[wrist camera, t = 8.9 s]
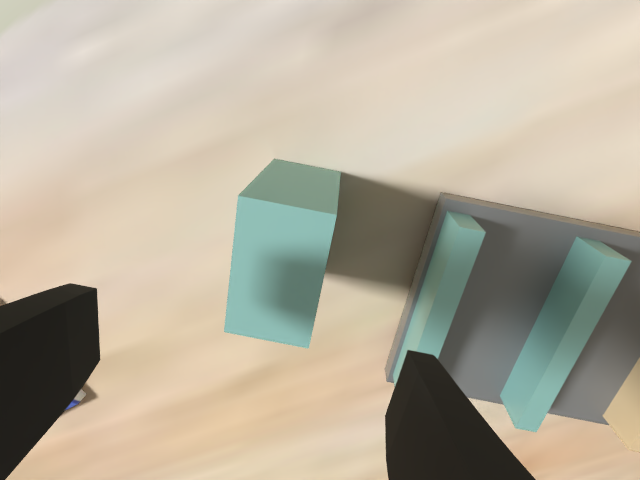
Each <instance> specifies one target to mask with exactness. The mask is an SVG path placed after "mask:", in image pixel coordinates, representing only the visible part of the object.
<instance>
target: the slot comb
mask: <svg viewBox="0 0 640 480" xmlns="http://www.w3.org/2000/svg"><path fill="white" fill-rule="evenodd" d="M407 350H412V351H417V352H422V353H427V354H432V355H434V356H435V357H436V358H437V359H438V360H439V362H440V363H441V364H442V365H443V367H444V368H445V369H446V371H447V372H448V373H449V375H450V376H451V377H452V378H453V380H454V381H455V382H456V384H457V385H458V386H459V388H460V389H461V390H462V391H463V393H464V394H465V395H466V397H468V398H473V399H478V400H483V401H488V402H493V403H498V404H504V406H505V408H506V410H507V412H508V414H509V416H510V418H511V420H512V422H513V424H514V426H515V428H517V429H522V430H528V431H533V432H537V430H538V428H539V427H540V425H541V423H542V421H543V420H544V418H545V416H546V414H547V413H549V414H555V415H560V416H565V417H570V418H575V419H580V420H585V421H590V422H595V423H600V424H605V425H610V426H611V428H612V429H613V430H614V432H615V433H616V434H617V436H618V437H619V438H620V440H621V441H622V442H623V444H624V445H625V446H626V447H627V449H628V450H630V451H635V452H640V232H638V231H633V230H628V229H623V228H618V227H613V226H608V225H603V224H598V223H593V222H588V221H583V220H578V219H573V218H568V217H563V216H558V215H553V214H548V213H543V212H538V211H533V210H527V209H522V208H517V207H512V206H507V205H502V204H497V203H492V202H487V201H482V200H477V199H472V198H467V197H462V196H457V195H452V194H447V193H442V192H441V193H440V197H439V200H438V203H437V206H436V209H435V212H434V216H433V219H432V222H431V225H430V228H429V231H428V234H427V238H426V241H425V244H424V247H423V250H422V253H421V256H420V260H419V263H418V266H417V269H416V272H415V275H414V279H413V282H412V285H411V288H410V291H409V294H408V297H407V301H406V304H405V307H404V310H403V313H402V316H401V319H400V323H399V326H398V329H397V332H396V335H395V338H394V342H393V345H392V348H391V351H390V354H389V357H388V360H387V364H386V367H385V372H386V380H387V382H391V383H394V385H395V386H396V383H397V380H398V377H399V374H400V371H401V368H402V365H403V362H404V359H405V356H406V353H407Z"/></svg>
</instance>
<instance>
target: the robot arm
mask: <svg viewBox="0 0 640 480" xmlns="http://www.w3.org/2000/svg"><path fill="white" fill-rule="evenodd" d="M99 361H100V346H99V325H98V303H97V289H96V288H91V287H86V286H81V285H76V284H71V283H70V284H66V285H63V286H59V287H56V288H52V289H49V290H46V291H43V292H40V293H37V294H34V295H31V296H28V297H25V298H23V299H20V300H17V301H14V302H11V303H8V304H6V305H3V306H0V480H5V479H6V478H7V477H8V476H9V475H10V473H11V472H12V471H13V470H14V469H15V468H16V466H17V465H18V464H19V463H20V462H21V461H22V460H23V458H24V457H25V456H26V455H27V454H28V453H29V451H30V450H31V449H32V448H33V447H34V446H35V445H36V443H37V442H38V441H39V440H40V439H41V438H42V436H43V435H44V434H45V433H46V432H47V431H48V429H49V428H50V427H51V426H52V425H53V424H54V422H55V421H56V420H57V419H58V418H59V417H60V415H61V414H62V413H63V412H64V411H65V409H66V408H67V407H68V406H69V405H70V403H71V402H72V401H73V400H74V398H75V397H76V395H77V394H78V393H79V391H80V390H81V388H82V387H83V385H84V384H85V382H86V381H87V379H88V378H89V376H90V375H91V373H92V372H93V370H94V369H95V367H96V365H97V364H98V362H99ZM385 427H386V462H387V470H388V478H389V480H535V478H534V477H533V476H532V475H531V474H530V473H529V472H528V471H527V469H526V468H525V467H524V466H523V465H522V464H521V463H520V462H519V460H518V459H517V458H516V457H515V456H514V455H513V453H512V452H511V451H510V450H509V449H508V448H507V446H506V445H505V444H504V443H503V442H502V440H501V439H500V438H499V437H498V436H497V434H496V433H495V432H494V431H493V430H492V428H491V427H490V426H489V425H488V423H487V422H486V421H485V420H484V418H483V417H482V416H481V415H480V413H479V412H478V411H477V409H476V408H475V407H474V406H473V404H472V403H471V402H470V401H469V399H468V398H467V397H466V395H465V394H464V393H463V391H462V390H461V389H460V388H459V386H458V385H457V384H456V382H455V381H454V380H453V378H452V377H451V376H450V375H449V373H448V372H447V371H446V369H445V368H444V367H443V365H442V364H441V363H440V362H439V360H438V359H437V358H436V357H435V356H434V355H432V354H427V353H422V352H417V351H412V350H407V353H406V356H405V359H404V362H403V365H402V368H401V371H400V374H399V377H398V380H397V383H396V386H395V389H394V392H393V395H392V397H391V400H390V403H389V406H388V409H387V412H386V415H385Z"/></svg>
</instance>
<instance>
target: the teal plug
mask: <svg viewBox="0 0 640 480" xmlns="http://www.w3.org/2000/svg"><path fill="white" fill-rule="evenodd" d="M340 176H341V172H339V171H334V170H329V169H324V168H318V167H313V166H308V165H303V164H298V163H293V162H288V161H283V160H278V159H274V160H273V161H272V162H271V163H270V164H269V165H268V166H267V167H266V168H265V169H264V170H263V171H262V172H261V173H260V174H259V175H258V176H257V177H256V178H255V179H254V180H253V181H252V182H251V183H250V184H249V185H248V186H247V187H246V188H245V189H244V190H243V191H242V192H241V193H240V194H239V195H238V203H237V213H236V222H235V232H234V242H233V251H232V261H231V270H230V280H229V290H228V299H227V309H226V319H225V328H224V332H227V333H232V334H237V335H242V336H247V337H252V338H257V339H262V340H268V341H273V342H278V343H283V344H288V345H293V346H298V347H303V348H309V345H310V340H311V335H312V330H313V326H314V321H315V316H316V312H317V307H318V302H319V297H320V293H321V288H322V283H323V279H324V274H325V269H326V264H327V260H328V255H329V250H330V246H331V241H332V236H333V231H334V227H335V222H336V217H337V209H338V198H339V187H340Z"/></svg>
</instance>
